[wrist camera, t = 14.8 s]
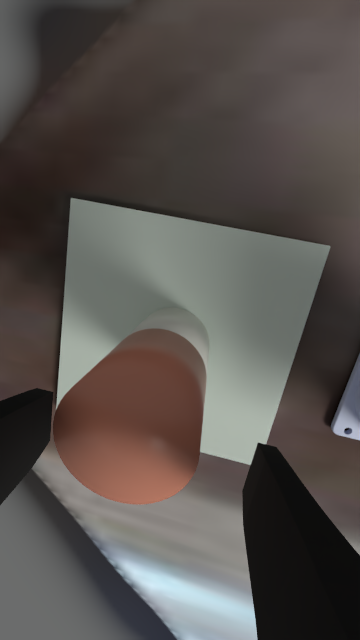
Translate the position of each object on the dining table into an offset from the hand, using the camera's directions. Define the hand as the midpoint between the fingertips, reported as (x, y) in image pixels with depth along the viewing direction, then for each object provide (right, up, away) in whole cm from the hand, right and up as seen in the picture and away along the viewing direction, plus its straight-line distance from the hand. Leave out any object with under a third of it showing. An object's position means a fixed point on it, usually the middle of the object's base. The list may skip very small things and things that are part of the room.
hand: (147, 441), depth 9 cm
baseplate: (+1, +3, +10) cm, 10 cm away
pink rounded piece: (0, +1, +4) cm, 5 cm away
